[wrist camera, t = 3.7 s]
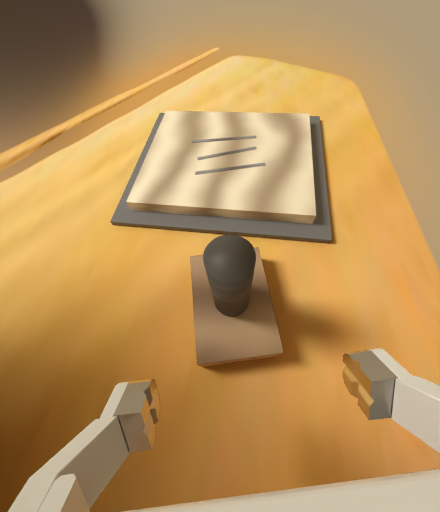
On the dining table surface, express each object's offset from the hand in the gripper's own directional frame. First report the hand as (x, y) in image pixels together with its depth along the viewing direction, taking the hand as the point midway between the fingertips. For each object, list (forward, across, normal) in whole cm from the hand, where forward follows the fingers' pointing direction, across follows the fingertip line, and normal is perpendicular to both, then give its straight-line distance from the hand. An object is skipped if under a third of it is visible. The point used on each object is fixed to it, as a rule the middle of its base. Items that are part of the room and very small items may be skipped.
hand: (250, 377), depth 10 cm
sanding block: (+13, 0, +4) cm, 13 cm away
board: (+26, -2, -11) cm, 29 cm away
